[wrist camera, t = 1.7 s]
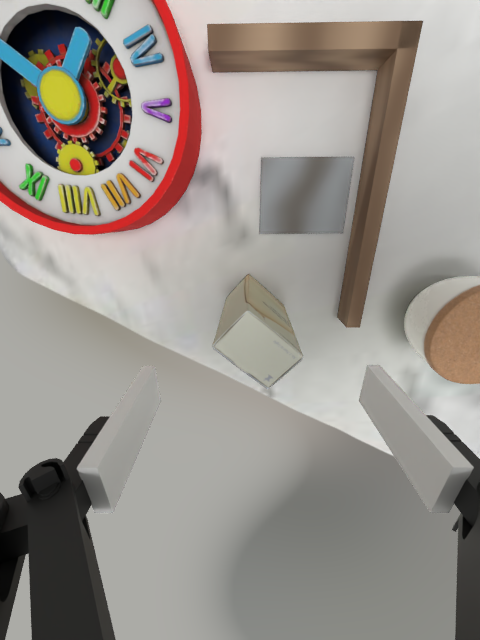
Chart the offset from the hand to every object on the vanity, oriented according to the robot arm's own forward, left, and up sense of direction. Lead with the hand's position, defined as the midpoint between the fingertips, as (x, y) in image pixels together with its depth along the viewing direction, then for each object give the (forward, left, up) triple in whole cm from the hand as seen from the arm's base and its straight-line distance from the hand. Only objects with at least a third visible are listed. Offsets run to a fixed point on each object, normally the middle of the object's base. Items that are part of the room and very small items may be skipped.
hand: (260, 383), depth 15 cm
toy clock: (+15, -18, -16) cm, 29 cm away
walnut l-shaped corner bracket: (-4, -10, -16) cm, 19 cm away
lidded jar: (-22, +1, -16) cm, 27 cm away
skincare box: (0, 0, -16) cm, 16 cm away
